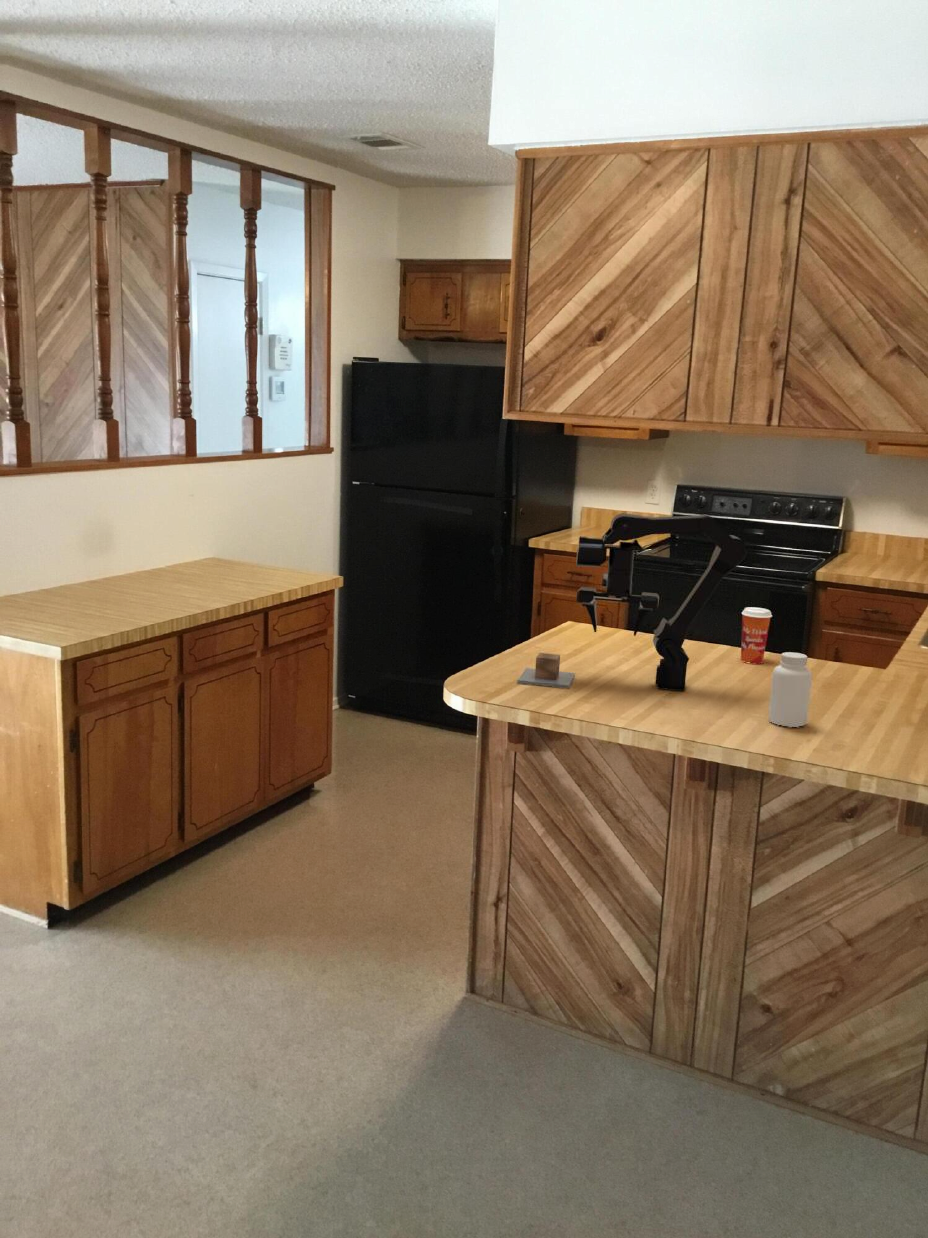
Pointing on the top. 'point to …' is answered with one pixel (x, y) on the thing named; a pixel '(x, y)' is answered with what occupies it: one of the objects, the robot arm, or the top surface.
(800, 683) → the pill bottle
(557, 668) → the walnut block
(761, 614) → the paper cup
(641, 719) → the top surface
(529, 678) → the plate
